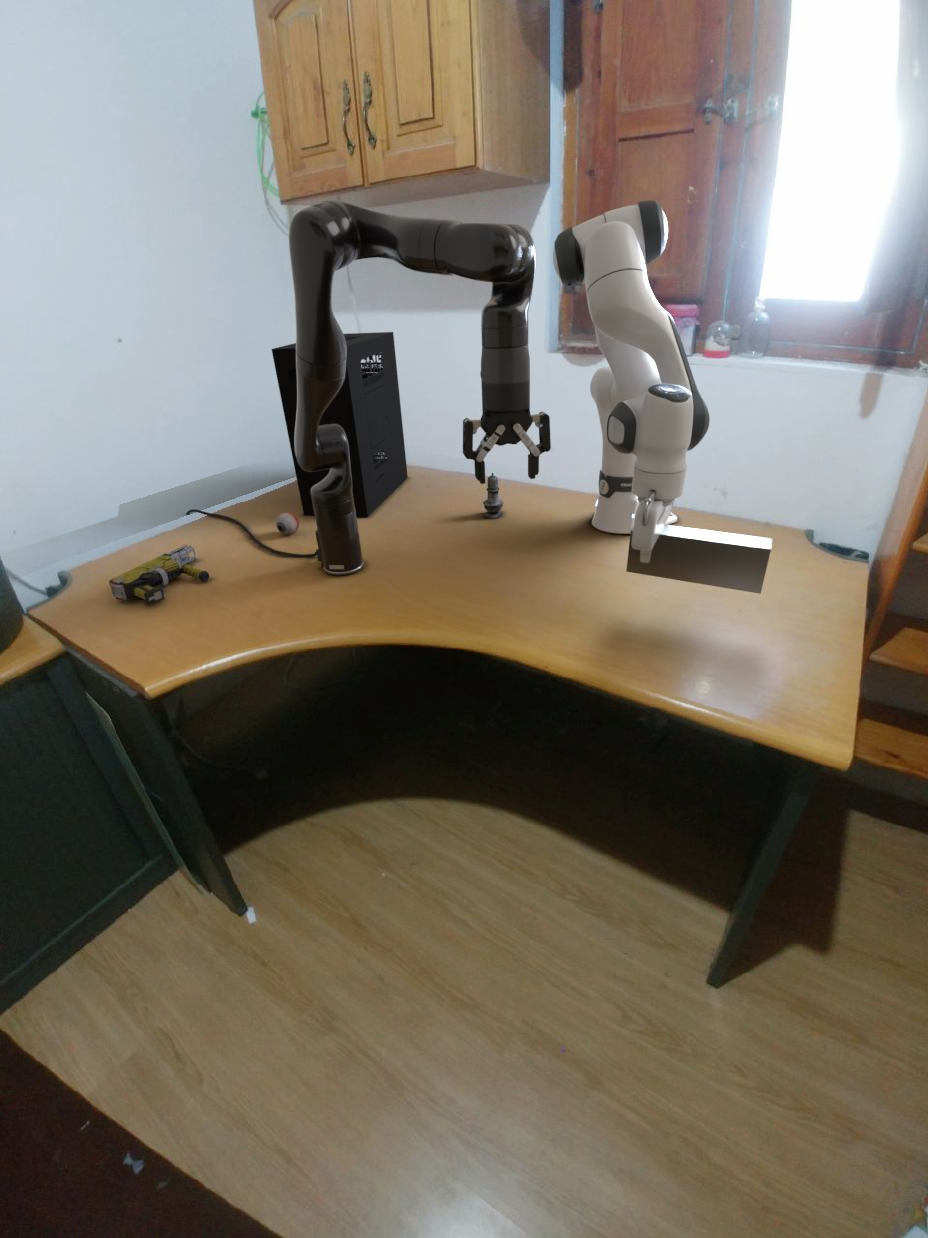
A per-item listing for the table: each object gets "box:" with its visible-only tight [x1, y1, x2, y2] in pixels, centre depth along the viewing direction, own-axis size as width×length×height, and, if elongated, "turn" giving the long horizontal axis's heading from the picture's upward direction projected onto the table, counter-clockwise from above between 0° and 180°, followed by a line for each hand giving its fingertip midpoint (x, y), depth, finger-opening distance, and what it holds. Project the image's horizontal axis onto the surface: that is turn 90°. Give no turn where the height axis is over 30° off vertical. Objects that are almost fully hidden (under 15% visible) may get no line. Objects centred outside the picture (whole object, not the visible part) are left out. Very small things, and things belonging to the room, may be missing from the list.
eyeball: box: [275, 511, 300, 536], centre depth 163 cm, size 6×6×6 cm
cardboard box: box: [271, 331, 409, 518], centre depth 180 cm, size 38×20×45 cm, turn 167°
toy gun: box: [108, 544, 210, 607], centre depth 141 cm, size 5×24×15 cm
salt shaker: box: [482, 472, 505, 519], centre depth 167 cm, size 6×6×12 cm
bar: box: [626, 524, 774, 594], centre depth 110 cm, size 24×5×8 cm, turn 63°
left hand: (507, 480), depth 101 cm, fingers open, 8 cm apart
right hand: (648, 554), depth 114 cm, fingers closed on bar, 5 cm apart
